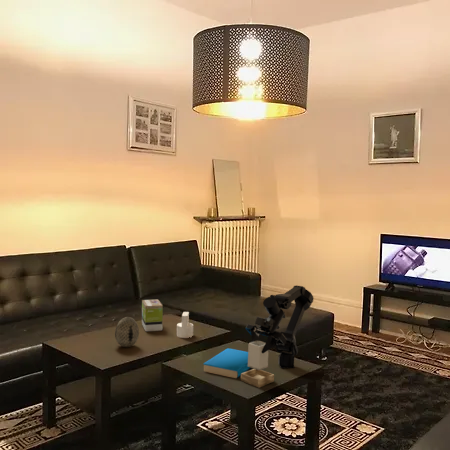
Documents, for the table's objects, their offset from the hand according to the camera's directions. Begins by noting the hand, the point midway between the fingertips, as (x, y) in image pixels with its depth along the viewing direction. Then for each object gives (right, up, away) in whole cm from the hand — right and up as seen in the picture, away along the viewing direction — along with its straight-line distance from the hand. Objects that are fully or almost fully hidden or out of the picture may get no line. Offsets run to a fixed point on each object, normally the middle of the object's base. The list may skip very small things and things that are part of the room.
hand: (256, 351), depth 206 cm
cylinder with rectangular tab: (-35, -8, +63) cm, 73 cm away
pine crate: (+1, -13, +2) cm, 13 cm away
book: (-10, -12, +19) cm, 24 cm away
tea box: (-55, -6, +76) cm, 94 cm away
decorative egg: (-62, -8, +41) cm, 75 cm away
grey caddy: (+1, -7, +2) cm, 7 cm away
